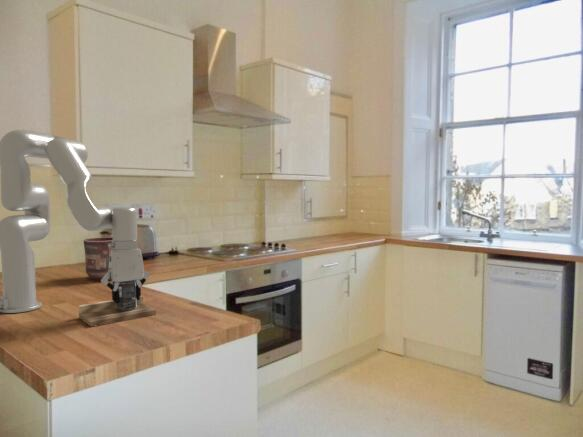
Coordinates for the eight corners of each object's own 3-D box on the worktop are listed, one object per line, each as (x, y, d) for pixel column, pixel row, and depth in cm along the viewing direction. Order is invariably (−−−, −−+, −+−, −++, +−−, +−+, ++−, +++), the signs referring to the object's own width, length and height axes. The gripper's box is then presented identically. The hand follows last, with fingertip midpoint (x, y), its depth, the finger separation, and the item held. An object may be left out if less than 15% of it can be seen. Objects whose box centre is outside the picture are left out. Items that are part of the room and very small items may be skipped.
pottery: (118, 282, 194) (117, 240, 193) (77, 282, 194) (76, 241, 193) (132, 275, 211) (132, 236, 210) (95, 275, 211) (94, 236, 210)
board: (90, 327, 132) (90, 313, 132) (79, 318, 141) (78, 305, 141) (156, 314, 145) (155, 302, 144) (141, 307, 154) (141, 295, 154)
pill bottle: (139, 305, 149) (138, 271, 148) (133, 310, 143) (132, 275, 142) (120, 305, 149) (119, 271, 148) (114, 310, 143) (113, 275, 142)
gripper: (101, 249, 136) (102, 307, 137) (155, 244, 147) (157, 298, 148) (93, 246, 142) (95, 302, 143) (146, 242, 153) (148, 294, 154)
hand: (126, 300), depth 146 cm, fingers closed on pill bottle, 5 cm apart
